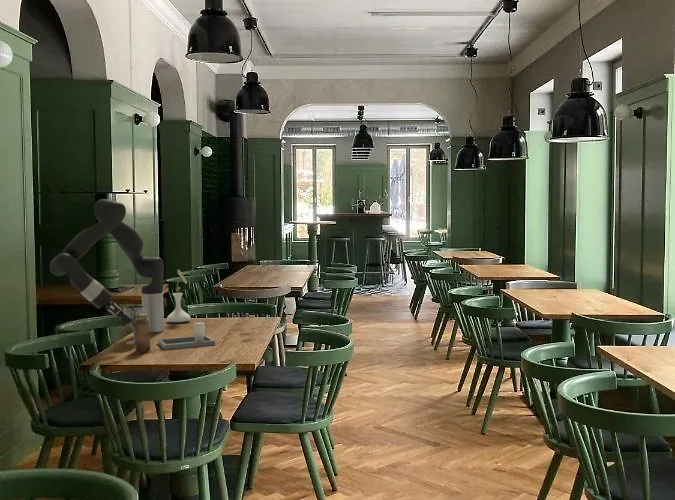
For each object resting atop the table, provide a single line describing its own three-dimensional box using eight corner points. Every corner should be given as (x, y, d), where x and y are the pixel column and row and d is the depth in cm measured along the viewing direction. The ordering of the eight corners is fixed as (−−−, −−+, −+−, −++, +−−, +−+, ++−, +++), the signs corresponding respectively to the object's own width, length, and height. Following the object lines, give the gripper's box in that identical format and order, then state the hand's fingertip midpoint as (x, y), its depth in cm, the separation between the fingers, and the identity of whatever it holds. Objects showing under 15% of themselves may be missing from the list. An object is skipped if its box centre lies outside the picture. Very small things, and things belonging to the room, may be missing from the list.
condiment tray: (157, 345, 300) (157, 339, 300) (206, 340, 308) (206, 334, 308) (164, 351, 287) (164, 345, 287) (215, 346, 295) (215, 340, 295)
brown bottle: (134, 349, 292) (133, 314, 291) (148, 348, 294) (147, 313, 293) (137, 352, 287) (135, 316, 286) (151, 351, 289) (150, 315, 288)
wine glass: (127, 345, 302) (126, 308, 300) (123, 342, 309) (122, 306, 308) (147, 343, 305) (145, 306, 304) (142, 340, 312) (141, 304, 311)
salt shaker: (193, 342, 301) (193, 322, 300) (203, 341, 302) (202, 322, 302) (196, 344, 297) (195, 324, 297) (205, 343, 299) (205, 323, 298)
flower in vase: (188, 323, 352) (186, 271, 350) (164, 324, 352) (162, 271, 350) (193, 319, 365) (192, 268, 363) (170, 319, 365) (168, 268, 363)
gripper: (105, 288, 277) (138, 316, 282) (100, 284, 290) (132, 311, 295) (91, 303, 275) (124, 331, 280) (87, 298, 288) (118, 325, 293)
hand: (128, 320), depth 288 cm, fingers open, 8 cm apart
